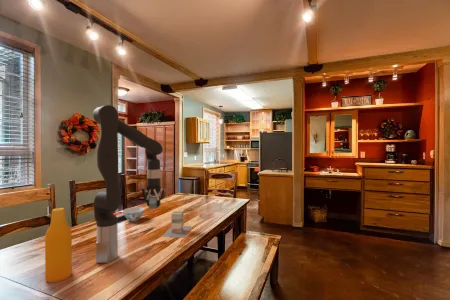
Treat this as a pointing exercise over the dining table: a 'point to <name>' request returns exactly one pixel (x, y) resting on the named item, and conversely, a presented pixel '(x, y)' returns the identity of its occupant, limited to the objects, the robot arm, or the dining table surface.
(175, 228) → the base block
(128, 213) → the chinaware
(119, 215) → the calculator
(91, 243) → the dining table surface
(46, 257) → the beer bottle
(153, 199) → the cylinder
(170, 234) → the tower board
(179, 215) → the top block
